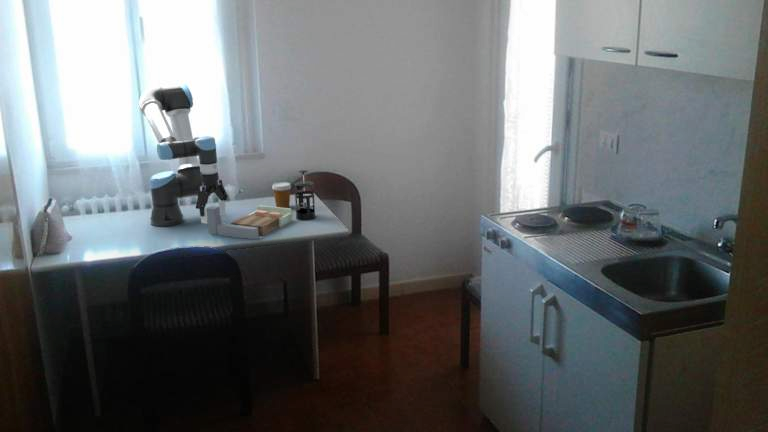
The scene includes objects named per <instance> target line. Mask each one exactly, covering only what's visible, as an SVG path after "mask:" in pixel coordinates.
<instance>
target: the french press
mask: <svg viewBox="0 0 768 432" xmlns="http://www.w3.org/2000/svg"><path fill="white" fill-rule="evenodd" d="M298 172H299V173H300V174H301V175H302V177H303V180H302V181H297V182H295V183H294V184H293V185H294V186H295V190H297V191H296V192H295V193H294V198H295V199H294V201H295V202H294V203H295V215H296V216H295V219H296V220H297V221H302V222H304V221H311V220H314V219H316V218H317V217H316V210H315V209H316V208H315V205H316V204H315V192H314V191H311V190H306V189H305V187H309V188H312V189H313V188H314V186H313V185H314V182H313V181H309V180H308V181H307V180H305V174H306V173H308V172H309V171H308V170H306V169H304V170H302V169H301V170H298ZM311 199H312V202H311Z"/></svg>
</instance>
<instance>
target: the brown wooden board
mask: <svg viewBox="0 0 768 432" xmlns="http://www.w3.org/2000/svg"><path fill="white" fill-rule="evenodd" d="M230 224H233V225H241V226H249V227H258V234H259V236H265V235H267V234H268V233H270V232H272V231H274V230H276V229H277V228H280V227H279V224H278V218H270V217H261V216H252V215H249V214H246V215H244V216H242V217H240V218H237V219H236V220H233V221H232V222H230ZM266 233H267V234H266Z"/></svg>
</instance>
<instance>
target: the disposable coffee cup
mask: <svg viewBox="0 0 768 432" xmlns="http://www.w3.org/2000/svg"><path fill="white" fill-rule="evenodd" d="M271 188H272V190H273V191H272V192H273V196H274V200H275V207H281V208H290V201H291V188H292V185H291V183H290V182H282V181H281V182H274V183H273V184H272V187H271Z"/></svg>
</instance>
